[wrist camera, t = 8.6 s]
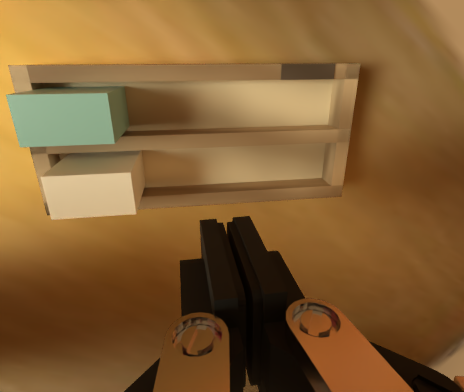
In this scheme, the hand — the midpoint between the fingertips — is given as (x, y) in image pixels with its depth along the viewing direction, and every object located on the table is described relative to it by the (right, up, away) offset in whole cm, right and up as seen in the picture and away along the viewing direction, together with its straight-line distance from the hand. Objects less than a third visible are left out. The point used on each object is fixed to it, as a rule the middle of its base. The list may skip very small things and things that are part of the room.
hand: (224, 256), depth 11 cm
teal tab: (-8, +7, +7) cm, 13 cm away
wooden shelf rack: (-2, +6, +9) cm, 11 cm away
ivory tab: (-7, +4, +8) cm, 12 cm away
